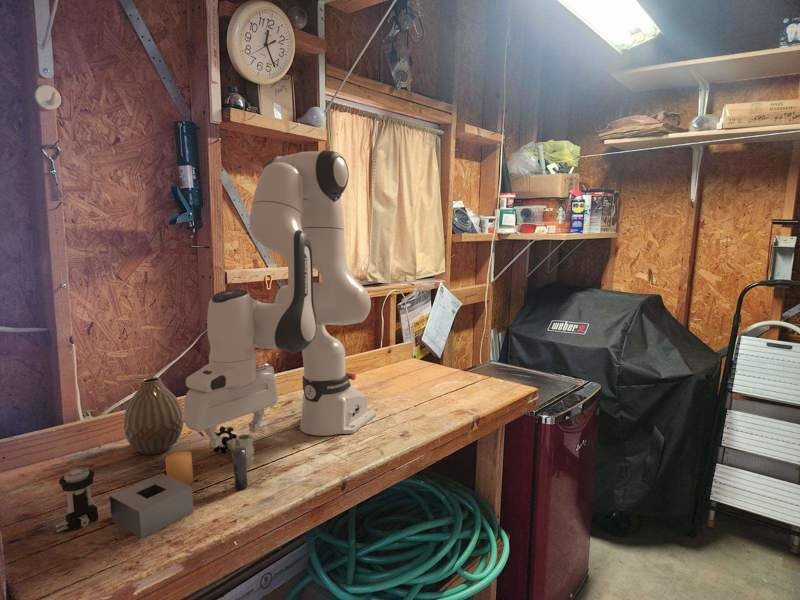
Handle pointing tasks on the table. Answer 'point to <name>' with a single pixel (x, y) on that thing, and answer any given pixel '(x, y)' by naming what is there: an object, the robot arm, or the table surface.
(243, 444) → the valve
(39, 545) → the table surface
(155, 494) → the bore block
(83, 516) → the push button
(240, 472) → the cylinder
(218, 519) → the table surface
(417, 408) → the table surface
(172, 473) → the orange rounded tapered piece
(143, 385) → the vase
